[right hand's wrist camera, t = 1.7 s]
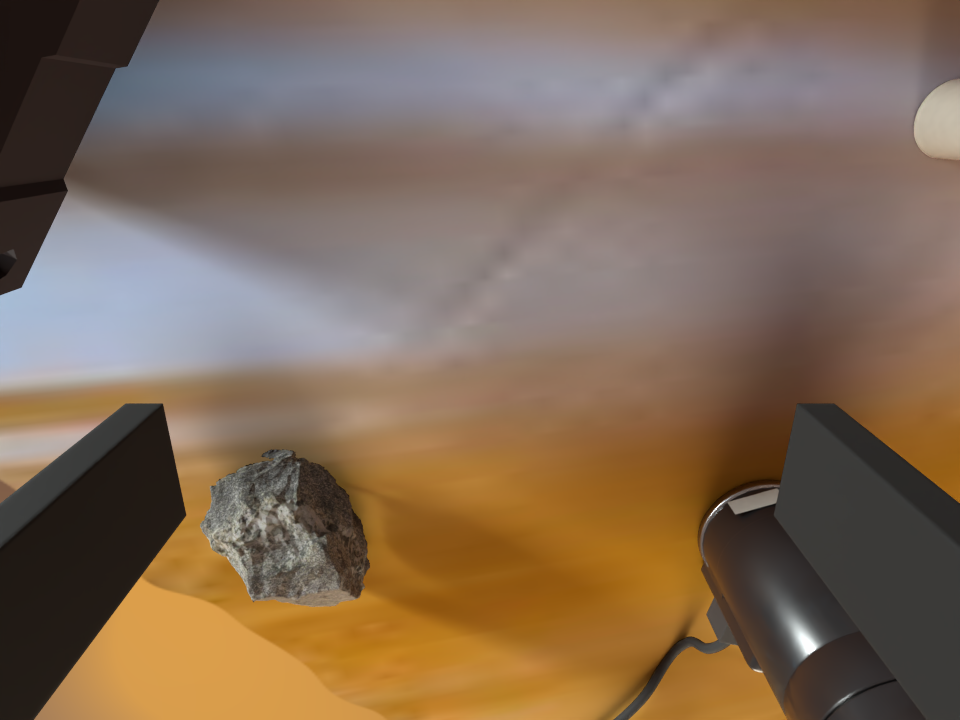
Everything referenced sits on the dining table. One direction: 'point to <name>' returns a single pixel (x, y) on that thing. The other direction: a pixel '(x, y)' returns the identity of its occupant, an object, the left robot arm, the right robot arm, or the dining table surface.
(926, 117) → the bottle
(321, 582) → the rock
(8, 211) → the mechanical component
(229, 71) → the dining table surface
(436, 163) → the dining table surface
